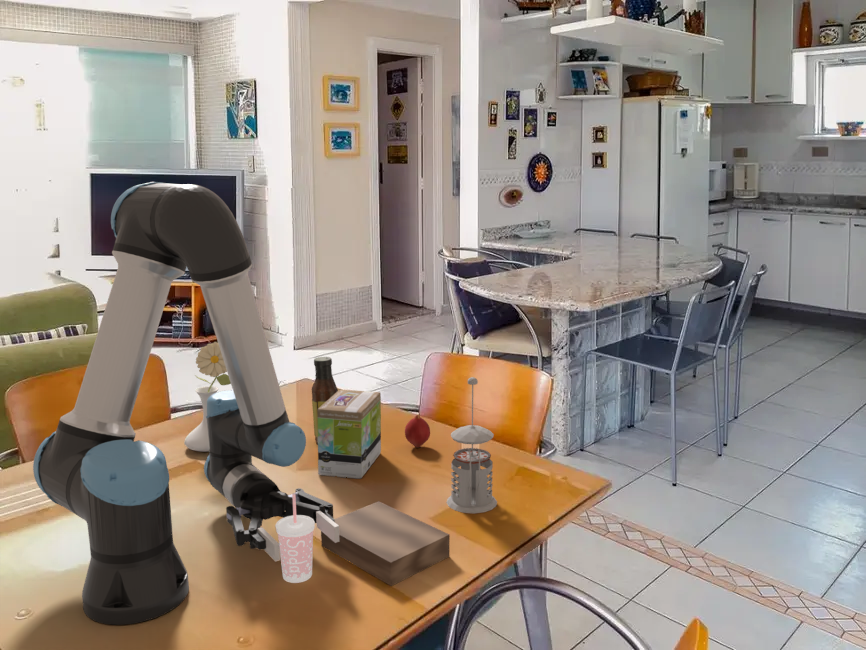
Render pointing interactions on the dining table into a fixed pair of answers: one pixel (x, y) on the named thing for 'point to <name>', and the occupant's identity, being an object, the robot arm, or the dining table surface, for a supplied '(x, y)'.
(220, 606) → the dining table surface
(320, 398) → the sauce bottle
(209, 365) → the flower in vase
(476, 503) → the french press
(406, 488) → the dining table surface
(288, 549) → the beverage cup
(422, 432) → the onion
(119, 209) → the robot arm
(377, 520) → the walnut pedestal
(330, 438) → the tea box
